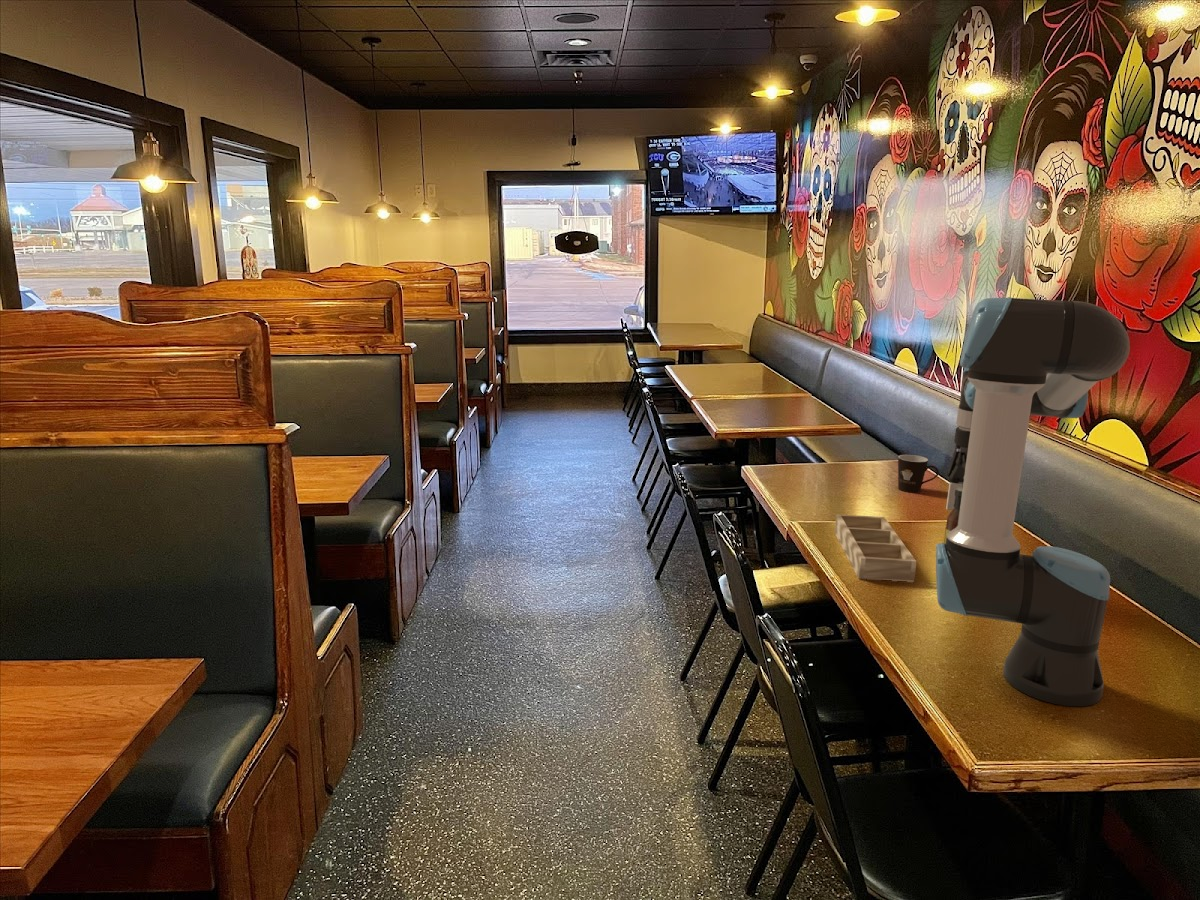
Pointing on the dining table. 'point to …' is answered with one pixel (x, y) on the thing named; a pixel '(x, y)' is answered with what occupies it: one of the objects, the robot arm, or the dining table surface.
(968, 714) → the dining table surface
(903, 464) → the coffee mug
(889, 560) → the condiment rack
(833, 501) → the dining table surface
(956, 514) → the sauce bottle
